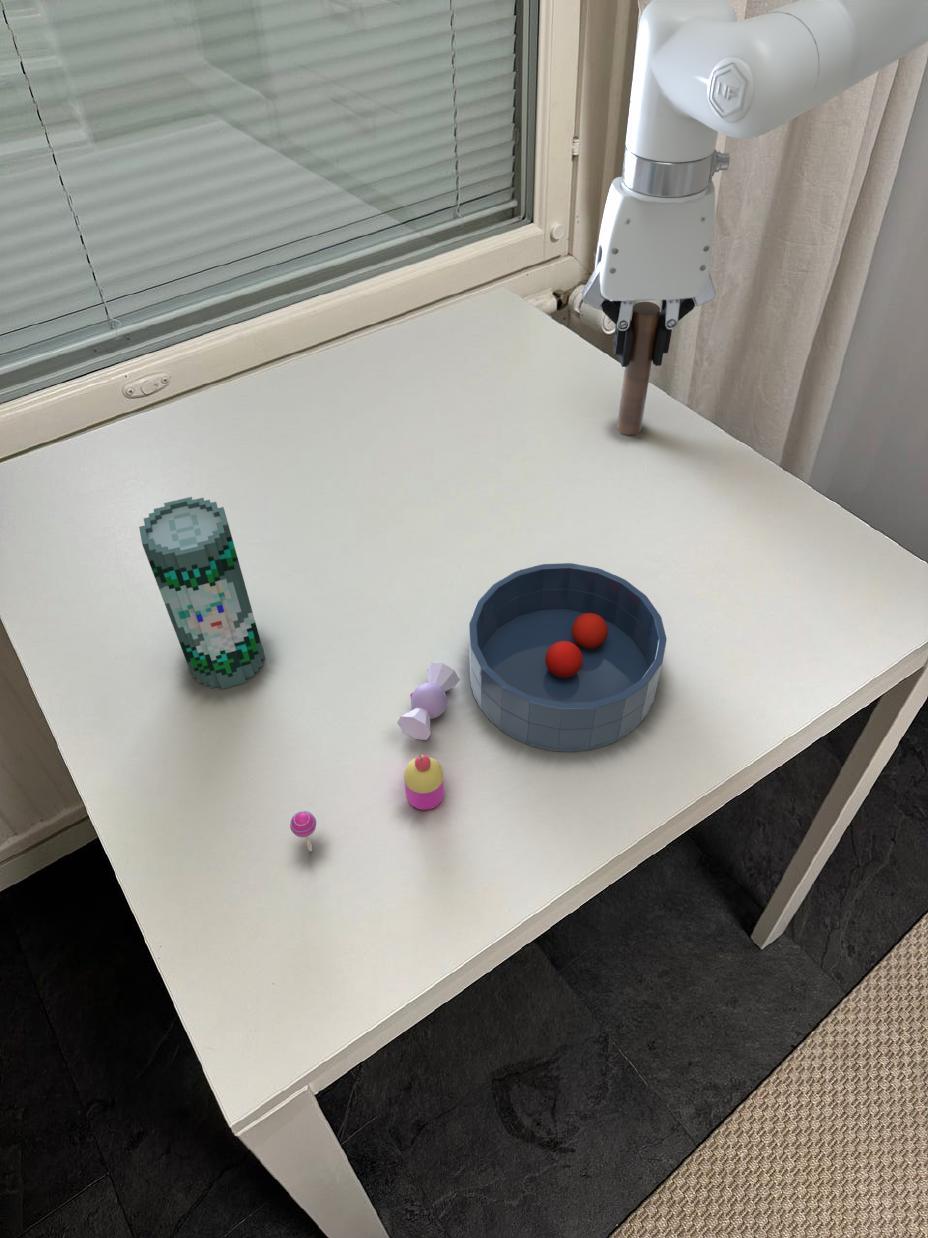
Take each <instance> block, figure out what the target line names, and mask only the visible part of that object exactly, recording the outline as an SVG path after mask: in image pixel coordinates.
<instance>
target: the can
mask: <svg viewBox="0 0 928 1238" xmlns="http://www.w3.org/2000/svg"><path fill="white" fill-rule="evenodd" d="M163 504H164V505H163V506H161V507H156V508H153V512H150V513H148V517H144V518H143V524H144V525H140V526H139V527H138V528H139V529H138V530H139V534H140V540H141V546H142V548H143V550H144V553H145V556H146V559H147V560H148V564H149V566H150V568H151V571H152V575H153V576H154V579H155V582H156V585H157V587H158V589H159V592H160V595H161V598H162V601H163V603H164V606H165V608H166V611H167V614H168V616H169V619H170V622H171V624H172V627H173V630H174V633H175V636H176V638H177V640H178V642H179V646H180V648H181V651H182V652H183V656H184V659H185V662H186V664H187V667H188V670H189V672H190V675H191V678H192V679H197V681H198V684H199V685H202V684H203V685H204V687H207V686H209V687H210V689H215V688H218V687H220V689H221V690H225V689H228V688H232V687H236V686H239V685H242V684H247V681H246V680H247V679H250V678H255V673H258V672H259V668H262V667H263V663H262V660H265V659H266V655H265V652H264V648H263V645H262V641H261V637H260V634H259V629H258V626H257V622H256V620H255V616H254V613H253V608H252V605H251V601H250V598H249V593H248V591H247V587H246V583H245V579H244V575H243V572H242V568H241V565H240V561H239V557H238V554H237V550H236V547H235V543H234V539H233V536H232V533H231V529H230V525H229V521H228V517H227V515H226V510H225V508H224V506H222V507H218V503H217V501H211V499H207V500H205V498H204V497H199V498H195V499H193V497H192V496H189V497H185V498H180V499H176V500H171V501H168V502H164V503H163Z"/></svg>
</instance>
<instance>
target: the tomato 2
mask: <svg viewBox="0 0 928 1238" xmlns="http://www.w3.org/2000/svg"><path fill="white" fill-rule="evenodd" d="M607 635H608V627H607V624H606V622H605V620H604V619H603V618H602V617H601V616H599V615H597V614H594V613H585V614H582V615H580V616H579V617H578V618H577V619H576V620H575V621H574V623H573V626H572V636H573V639H574V641H575V642H576V643H577V644H578V645H579V646H581V647H583V648H586V649H594V648H597V647H599V646H600V645H602V644H603V643H604V642H605V640H606V638H607Z"/></svg>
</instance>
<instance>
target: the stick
mask: <svg viewBox="0 0 928 1238" xmlns="http://www.w3.org/2000/svg"><path fill="white" fill-rule="evenodd" d="M660 307H661V306H660V305H658V304H657V303H655V302H651V301H639V302H637V303H634V305H633V310H632V315H631V322H632V323H631V326H632V328H633V331H634V336H633V343H632V350H631V357H630V364H629V365H628V366H627V367H624V370H623V372H624V373H623V380H622V386H621V393H620V401H619V407H618V416H617V424H616V430H617V431H618V433H620V434H622V435H624V436H635V435H638V434H639V433H640V432H641V431H642V425H643V419H644V413H645V407H646V400H647V394H648V388H649V381H650V376H651V368H652V364H653V361H652V357H653V350H654V344H655V338H656V331H657V325H658V319H659V313H660Z"/></svg>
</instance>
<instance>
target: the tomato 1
mask: <svg viewBox="0 0 928 1238" xmlns="http://www.w3.org/2000/svg"><path fill="white" fill-rule="evenodd" d="M582 661H583V659H582V654H581V651H580V650H579V648H578V647H577V646H576V645H575V644H573V643H571V642H568V641H560V642H557V643H555V644H553V645H552V646H551V647H550V648H549V649H548V651H547V653H546V657H545V662H546V666H547V668H548V670H549V671H550V672H551V673H552V674H553V675H554V676H556V677H559V678H569V677H572V676H574V675H575V674H576V673H577V672H578V671H579V670H580V668H581V666H582Z"/></svg>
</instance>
